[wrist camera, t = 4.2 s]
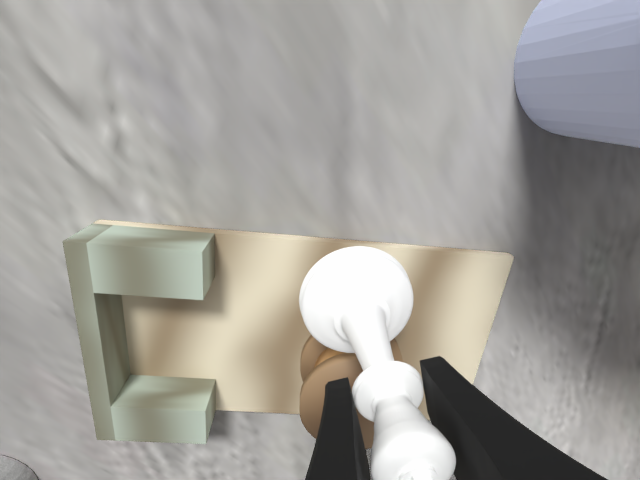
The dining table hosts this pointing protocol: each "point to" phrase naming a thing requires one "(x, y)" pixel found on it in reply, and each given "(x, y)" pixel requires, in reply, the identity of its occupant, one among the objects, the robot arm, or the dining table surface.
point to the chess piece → (376, 357)
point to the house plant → (14, 470)
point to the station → (245, 324)
